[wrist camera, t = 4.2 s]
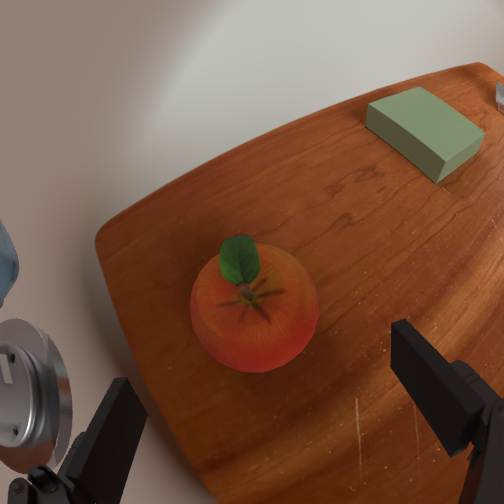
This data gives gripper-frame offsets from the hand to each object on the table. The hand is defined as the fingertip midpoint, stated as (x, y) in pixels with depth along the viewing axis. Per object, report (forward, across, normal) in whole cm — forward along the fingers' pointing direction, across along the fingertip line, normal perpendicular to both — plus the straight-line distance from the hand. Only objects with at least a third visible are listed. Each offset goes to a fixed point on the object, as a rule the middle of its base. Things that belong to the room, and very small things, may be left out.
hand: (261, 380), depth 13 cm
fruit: (+12, 0, -4) cm, 13 cm away
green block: (+25, +28, +10) cm, 39 cm away
